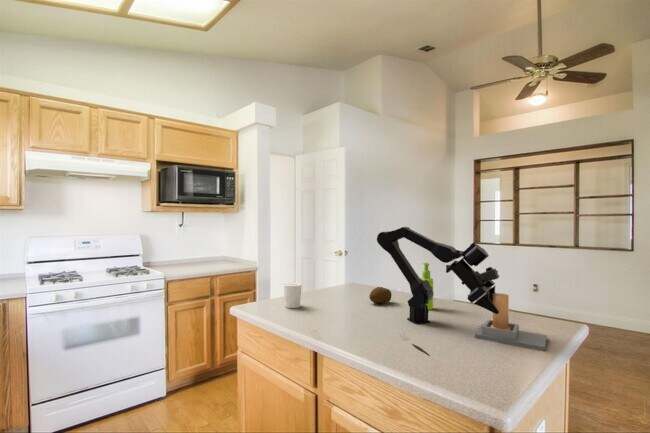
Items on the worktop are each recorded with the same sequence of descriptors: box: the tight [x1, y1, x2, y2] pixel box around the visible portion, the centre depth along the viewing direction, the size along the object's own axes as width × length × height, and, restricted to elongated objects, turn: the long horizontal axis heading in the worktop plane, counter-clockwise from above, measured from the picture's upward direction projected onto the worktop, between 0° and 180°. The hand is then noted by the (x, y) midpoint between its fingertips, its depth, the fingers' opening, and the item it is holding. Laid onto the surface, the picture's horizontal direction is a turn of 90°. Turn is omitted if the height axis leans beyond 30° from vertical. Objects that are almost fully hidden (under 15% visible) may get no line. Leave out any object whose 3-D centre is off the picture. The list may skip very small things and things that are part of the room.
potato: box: [369, 286, 392, 304], centre depth 162 cm, size 8×12×8 cm, turn 130°
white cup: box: [283, 282, 303, 309], centre depth 156 cm, size 8×8×10 cm
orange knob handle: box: [491, 292, 510, 331], centre depth 118 cm, size 6×6×13 cm
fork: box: [398, 333, 430, 357], centre depth 109 cm, size 3×16×2 cm, turn 17°
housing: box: [474, 319, 547, 352], centre depth 117 cm, size 20×13×4 cm, turn 55°
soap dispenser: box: [419, 262, 434, 311], centre depth 154 cm, size 6×7×20 cm
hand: (500, 310), depth 118 cm, fingers open, 9 cm apart
